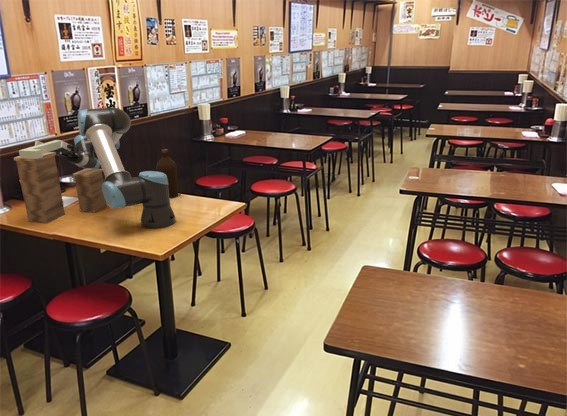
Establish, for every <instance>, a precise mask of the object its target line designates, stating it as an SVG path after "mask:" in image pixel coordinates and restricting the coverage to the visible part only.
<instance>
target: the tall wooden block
mask: <svg viewBox="0 0 567 416" xmlns="http://www.w3.org/2000/svg"><path fill="white" fill-rule="evenodd" d="M42 156H43V157H42V158H39V159H26V158H20V155H18V156H15V157H13V161H15V162H16V166H17V170H18V171H17V172H18V178H19V181H20V187H21V191H22V196H23V200H24V205H25V210H26V214H27V219H28V222H29V223H37V224H38V223H42V224H49V223H51V222H53V221H55V220H57V219H58V218H60V217H62V216H65V215H66V214H65V213H66V212H65V207H64V201H63V196H62V190H61V185H60V184H61V183H60V179H59V175H58V174H59V173H58V168H57V162H56V157H55V156H57V155H56V152H47V153H43V154H42Z"/></svg>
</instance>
